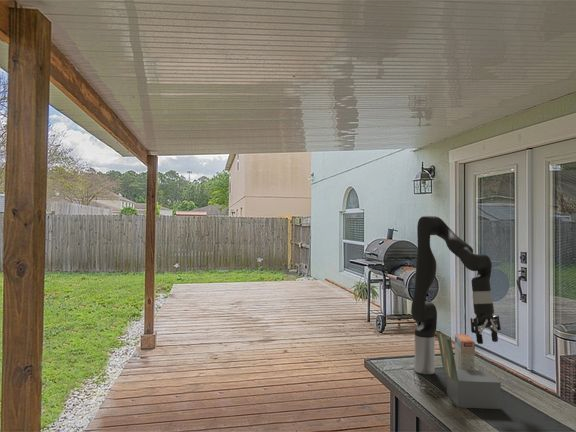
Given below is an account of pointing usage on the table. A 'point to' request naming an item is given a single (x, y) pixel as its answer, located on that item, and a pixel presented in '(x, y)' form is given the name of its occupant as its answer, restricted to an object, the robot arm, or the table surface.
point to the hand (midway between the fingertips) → (487, 342)
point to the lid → (447, 355)
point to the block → (475, 390)
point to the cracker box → (464, 352)
